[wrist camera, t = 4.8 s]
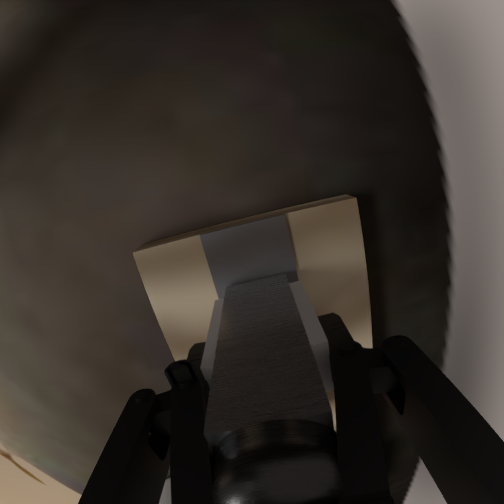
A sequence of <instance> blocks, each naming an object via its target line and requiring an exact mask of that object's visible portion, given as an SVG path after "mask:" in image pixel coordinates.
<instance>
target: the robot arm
mask: <svg viewBox="0 0 504 504" xmlns="http://www.w3.org/2000/svg"><path fill="white" fill-rule="evenodd" d="M289 285H290V288H291V290H292V293H293V296H294V299H295V302H296V305H297V308H298V310H299V313H300V316H301V319H302V322H303V325H304V328H305V331H306V334H307V337H308V340H309V343H310V345H311V348H312V351H313V354H314V357H315V360H316V363H317V366H318V369H319V372H320V375H321V378H322V381H323V385H324V388H325V391H326V392H327V391H331V390H334V397H335V413H336V432H337V462H338V470H339V473H340V477H341V481H342V485H343V488H344V492H345V496H344V497H340V498H338V504H394V501H393V498H392V497H391V496H390V491H389V484H388V476H387V469H386V462H385V455H384V449H383V443H382V437H381V431H380V426H379V420H378V415H377V410H376V405H375V400H374V395H373V394H380V393H382V396H383V397H384V399H385V400H386V402H387V404H388V405H389V407H390V408H391V410H392V412H393V413H394V415H395V416H396V418H397V420H398V421H399V423H400V424H401V426H402V428H403V429H404V431H405V433H406V434H407V436H408V438H409V439H410V441H411V442H412V444H413V446H414V447H415V449H416V451H417V452H418V454H419V456H420V457H421V459H422V461H423V462H424V464H425V466H426V468H427V469H428V471H429V473H430V474H431V476H432V478H433V479H434V481H435V483H436V485H437V486H438V488H439V490H440V491H441V493H442V495H443V497H444V499H445V500H446V502H447V504H504V442H503V440H502V439H501V438H500V437H499V436H498V434H497V433H496V432H495V431H494V430H493V429H492V427H491V426H490V425H489V424H488V423H487V421H486V420H485V419H484V418H483V417H482V416H481V415H480V413H479V412H478V411H477V410H476V409H475V408H474V407H473V405H472V404H471V403H470V402H469V401H468V400H467V399H466V398H465V397H464V396H463V394H462V393H461V392H460V391H459V390H458V389H457V388H456V387H455V386H454V384H453V383H452V382H451V381H450V380H449V379H448V378H447V377H446V376H445V375H444V374H443V373H442V371H441V370H440V369H439V368H438V367H437V366H436V365H435V364H434V363H433V362H432V361H431V360H430V359H429V358H428V357H427V356H426V355H425V354H424V352H423V351H422V350H421V349H420V348H419V347H418V346H417V345H416V344H415V343H414V342H413V341H412V340H411V339H409V338H408V337H406V336H402V335H399V336H392V337H389V338H387V339H385V341H384V342H383V343H382V347H380V348H364V347H362V345H361V344H360V343H358V342H356V341H354V339H353V338H352V336H351V334H350V333H349V331H348V329H347V327H346V326H345V324H344V322H343V320H342V319H341V317H340V316H339V315H337V314H335V313H334V312H332V313H329V314H325V315H321V316H317V315H316V313H315V311H314V308H313V306H312V304H311V302H310V300H309V297H308V295H307V293H306V291H305V289H304V286H303V284H302V282H301V280H300V281H296V282H292V283H289ZM223 302H224V298H222V299H218V300H215V303H214V308H213V312H212V316H211V321H210V325H209V330H208V335H207V339H206V342H201V343H195V344H194V345H193V346H192V347H191V348H190V350H189V353H188V357H187V360H186V359H184V360H178V361H176V362H173V363H172V364H170V365H169V366H168V367H167V368H166V369H165V372H164V373H165V375H166V377H167V379H168V381H169V383H170V385H171V386H172V389H171V390H169V391H167V392H164V393H161V394H158V395H156V394H155V392H154V391H153V390H152V389H141V390H138V391H136V392H135V393H134V394H132V395H131V397H130V398H129V400H128V402H127V404H126V406H125V408H124V410H123V412H122V414H121V415H120V417H119V419H118V421H117V423H116V425H115V427H114V429H113V431H112V433H111V435H110V437H109V439H108V441H107V443H106V445H105V447H104V449H103V452H102V454H101V456H100V458H99V460H98V462H97V464H96V466H95V468H94V470H93V472H92V474H91V477H90V479H89V481H88V483H87V485H86V487H85V489H84V492H83V494H82V496H81V498H80V500H79V503H78V504H159V502H160V498H161V494H162V491H163V487H164V484H165V480H166V477H167V473H168V470H169V466H170V480H171V504H212V496H213V453H214V451H213V449H212V448H211V446H210V444H209V443H208V441H207V439H206V438H205V436H204V434H203V433H204V425H205V418H206V412H207V405H208V398H209V391H210V384H211V378H212V371H213V365H214V358H215V352H216V345H217V339H218V333H219V326H220V320H221V314H222V308H223ZM333 383H334V384H333Z"/></svg>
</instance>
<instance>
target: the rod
mask: <svg viewBox="0 0 504 504" xmlns="http://www.w3.org/2000/svg"><path fill="white" fill-rule="evenodd" d="M203 434H204V436H205V438H206V439H207V441H208V443H209V444H210V446H211V448H212V449H213V451H214V453H213V496H212V504H338V498H340V497H344V496H345V492H344V488H343V485H342V481H341V477H340V473H339V470H338V462H337V432H336V431H335V430H334V424H333V415H332V409H331V406H330V403H329V400H328V397H327V394H326V391H325V388H324V385H323V381H322V378H321V375H320V372H319V369H318V366H317V363H316V360H315V357H314V354H313V351H312V348H311V345H310V343H309V340H308V337H307V334H306V331H305V328H304V325H303V322H302V319H301V316H300V313H299V310H298V308H297V305H296V302H295V299H294V296H293V293H292V290H291V288H290V285H289V282H288V279H287V276H286V273H283V274H279V275H275V276H271V277H267V278H263V279H258V280H254V281H250V282H245V283H241V284H237V285H232V286H228V287H226V290H225V296H224V302H223V308H222V314H221V320H220V326H219V333H218V339H217V345H216V352H215V358H214V365H213V371H212V378H211V384H210V391H209V398H208V405H207V412H206V418H205V425H204V433H203Z"/></svg>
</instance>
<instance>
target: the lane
mask: <svg viewBox="0 0 504 504" xmlns="http://www.w3.org/2000/svg"><path fill="white" fill-rule="evenodd" d="M133 255H134V258H135V261H136V264H137V267H138V270H139V273H140V275H141V278H142V281H143V284H144V286H145V289H146V292H147V294H148V297H149V300H150V302H151V305H152V307H153V310H154V312H155V315H156V317H157V320H158V322H159V325H160V327H161V329H162V332H163V334H164V336H165V339H166V341H167V343H168V346H169V348H170V350H171V352H172V355H173V357H174V359H175V361H178V360H184V359H186V360H187V357H188V353H189V350H190V348H191V347H192V346H193V345H194V344H195V343H201V342H206V339H207V335H208V330H209V325H210V321H211V316H212V312H213V308H214V303H215V300H218V299H222V298H224V296H225V290H226V287H228V286H232V285H237V284H241V283H245V282H250V281H254V280H258V279H263V278H267V277H271V276H275V275H279V274H283V273H286V276H287V279H288V282H289V283H292V282H296V281H300V280H301V282H302V284H303V286H304V289H305V291H306V293H307V295H308V297H309V300H310V302H311V304H312V306H313V308H314V311H315V313H316V315H317V316H321V315H325V314H329V313H332V312H334V313H335V314H337V315H339V316H340V317H341V319H342V320H343V322H344V324H345V326H346V327H347V329H348V331H349V333H350V334H351V336H352V338H353V339H354V341H356V342H358V343H360V344H361V345H362V347H364V348H373V346H372V325H371V310H370V297H369V286H368V276H367V267H366V259H365V251H364V243H363V236H362V229H361V222H360V216H359V210H358V204H357V198H356V197H353V196H350V195H341V196H336V197H332V198H327V199H323V200H318V201H314V202H309V203H305V204H300V205H296V206H292V207H287V208H283V209H279V210H275V211H270V212H266V213H262V214H258V215H254V216H250V217H246V218H242V219H238V220H234V221H230V222H226V223H222V224H218V225H214V226H210V227H206V228H202V229H198V230H194V231H191V232H187V233H183V234H179V235H176V236H172V237H168V238H165V239H161V240H157V241H154V242H150V243H146V244H143V245H142V246H140V247H139V248H138V249H136V250H135V251H134V252H133ZM333 384H334V383H333ZM326 394H327V397H328V400H329V403H330V406H331V409H332V415H333V424H334V430H335V431H336V413H335V397H334V390H331V391H327V392H326Z"/></svg>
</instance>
